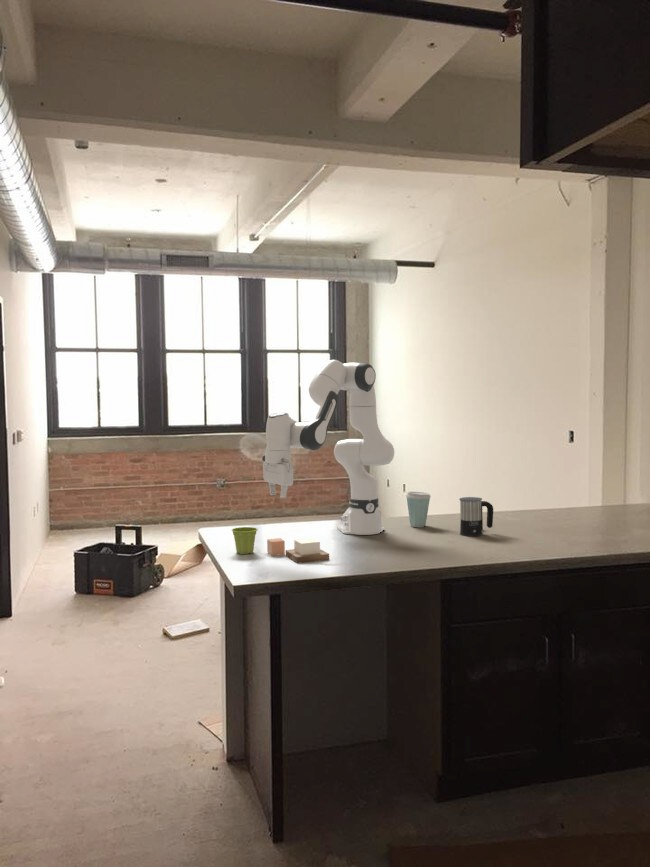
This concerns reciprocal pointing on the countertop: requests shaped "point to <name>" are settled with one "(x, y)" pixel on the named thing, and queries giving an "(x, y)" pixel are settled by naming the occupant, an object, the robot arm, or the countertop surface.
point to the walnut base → (307, 556)
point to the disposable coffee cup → (418, 508)
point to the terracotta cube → (275, 546)
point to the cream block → (307, 546)
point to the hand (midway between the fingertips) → (278, 496)
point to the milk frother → (474, 516)
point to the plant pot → (244, 539)
